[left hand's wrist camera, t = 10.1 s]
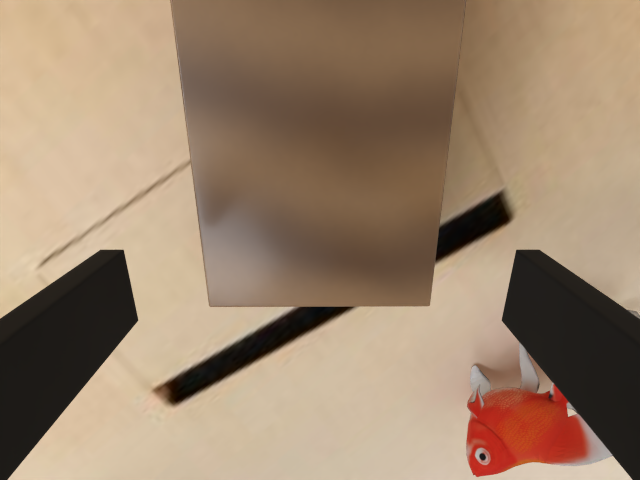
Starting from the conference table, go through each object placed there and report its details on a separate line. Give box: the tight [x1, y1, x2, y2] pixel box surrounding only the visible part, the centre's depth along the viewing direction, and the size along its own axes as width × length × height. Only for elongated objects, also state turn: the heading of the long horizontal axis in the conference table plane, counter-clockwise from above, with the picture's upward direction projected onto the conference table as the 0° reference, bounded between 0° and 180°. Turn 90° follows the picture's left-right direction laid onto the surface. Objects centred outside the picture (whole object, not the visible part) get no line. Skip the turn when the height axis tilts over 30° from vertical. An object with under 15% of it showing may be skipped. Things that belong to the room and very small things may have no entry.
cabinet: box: [170, 0, 466, 307], centre depth 19 cm, size 20×11×8 cm, turn 0°
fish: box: [466, 310, 640, 477], centre depth 26 cm, size 11×16×10 cm
